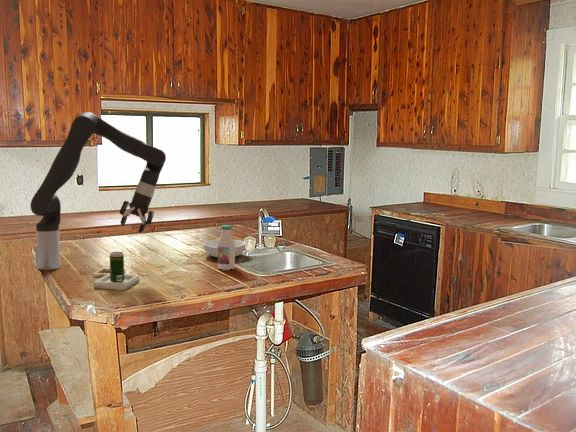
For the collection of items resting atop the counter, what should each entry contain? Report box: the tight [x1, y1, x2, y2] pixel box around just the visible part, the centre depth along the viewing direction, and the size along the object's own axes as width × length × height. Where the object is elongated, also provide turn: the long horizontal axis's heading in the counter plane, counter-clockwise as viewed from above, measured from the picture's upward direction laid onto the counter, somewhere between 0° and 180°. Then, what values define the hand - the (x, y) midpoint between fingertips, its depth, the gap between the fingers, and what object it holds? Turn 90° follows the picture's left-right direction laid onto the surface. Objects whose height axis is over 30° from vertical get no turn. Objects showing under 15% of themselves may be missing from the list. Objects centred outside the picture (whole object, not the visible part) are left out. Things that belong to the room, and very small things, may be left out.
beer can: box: [109, 251, 125, 283], centre depth 220 cm, size 5×5×12 cm
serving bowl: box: [203, 238, 247, 258], centre depth 273 cm, size 21×21×7 cm
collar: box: [92, 267, 126, 279], centre depth 235 cm, size 10×10×2 cm
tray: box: [93, 272, 140, 291], centre depth 221 cm, size 13×13×2 cm
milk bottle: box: [217, 224, 236, 271], centre depth 248 cm, size 8×8×20 cm
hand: (131, 228), depth 234 cm, fingers open, 8 cm apart
